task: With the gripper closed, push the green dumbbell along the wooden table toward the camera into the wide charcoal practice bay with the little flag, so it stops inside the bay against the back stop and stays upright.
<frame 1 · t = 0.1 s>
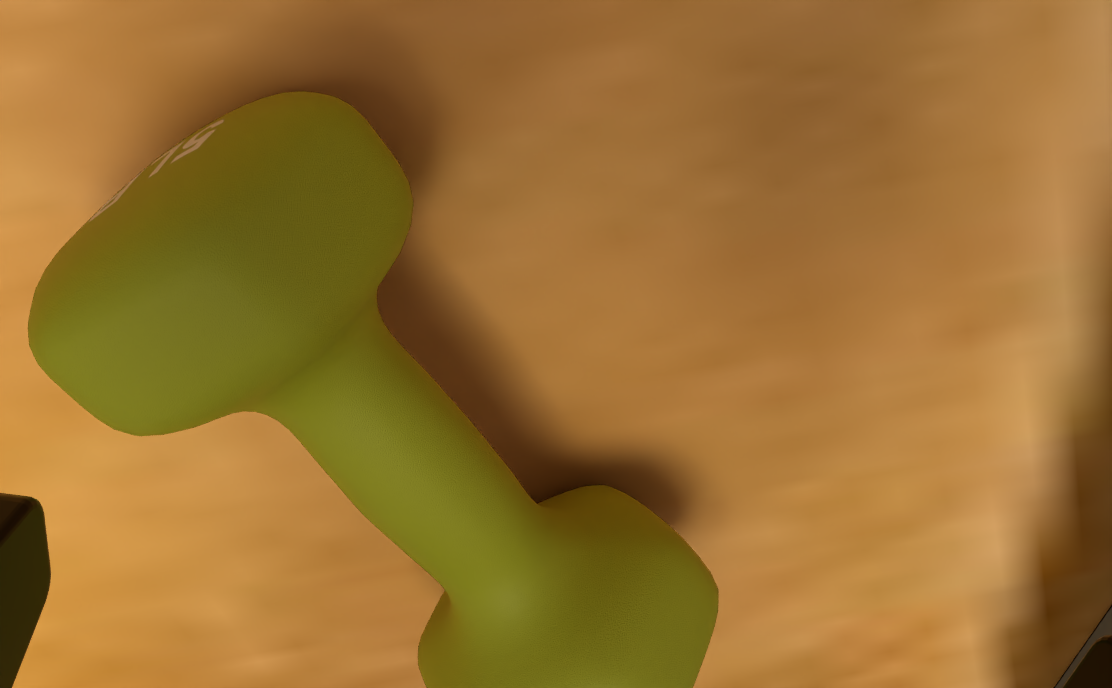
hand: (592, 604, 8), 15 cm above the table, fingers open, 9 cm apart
dumbbell: (432, 369, 25), on the table
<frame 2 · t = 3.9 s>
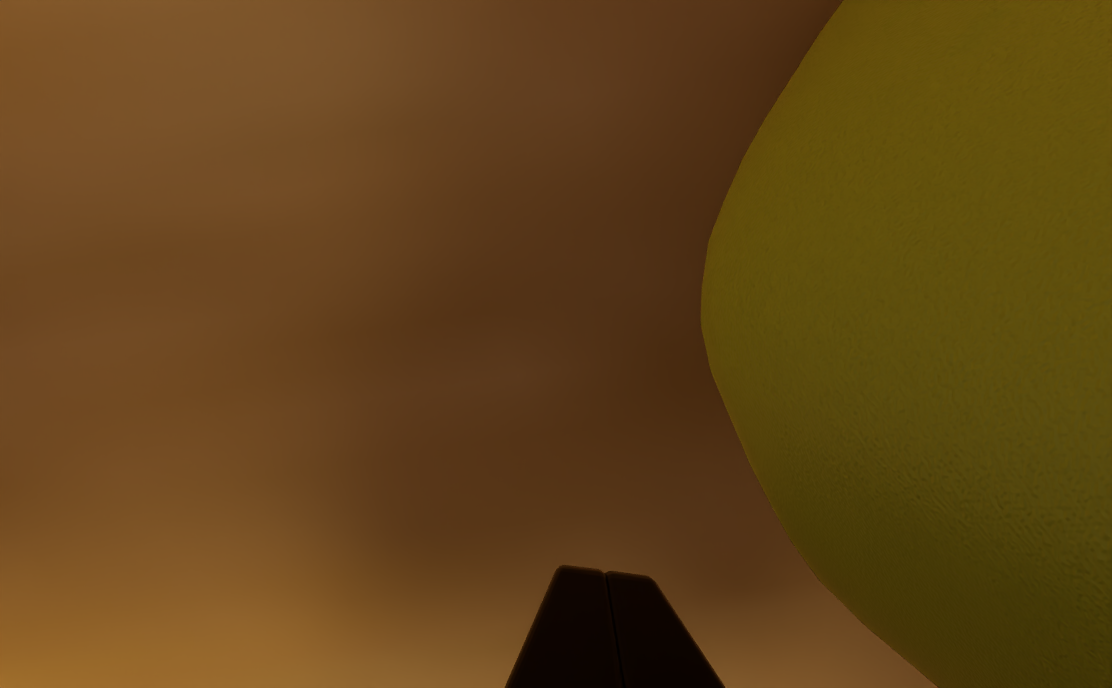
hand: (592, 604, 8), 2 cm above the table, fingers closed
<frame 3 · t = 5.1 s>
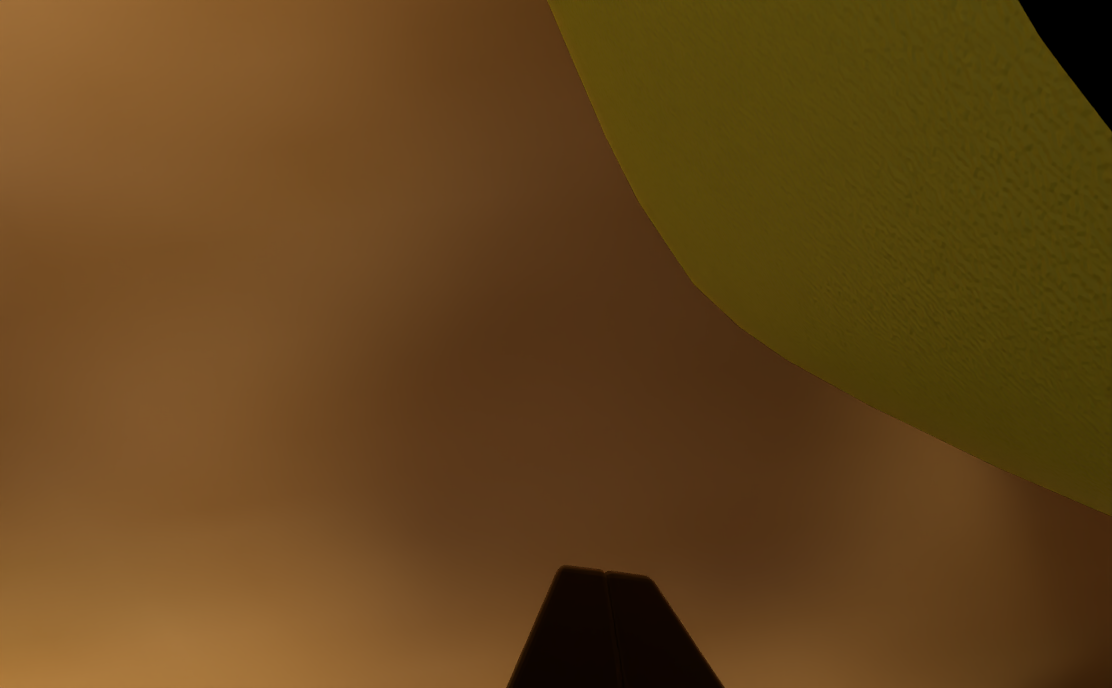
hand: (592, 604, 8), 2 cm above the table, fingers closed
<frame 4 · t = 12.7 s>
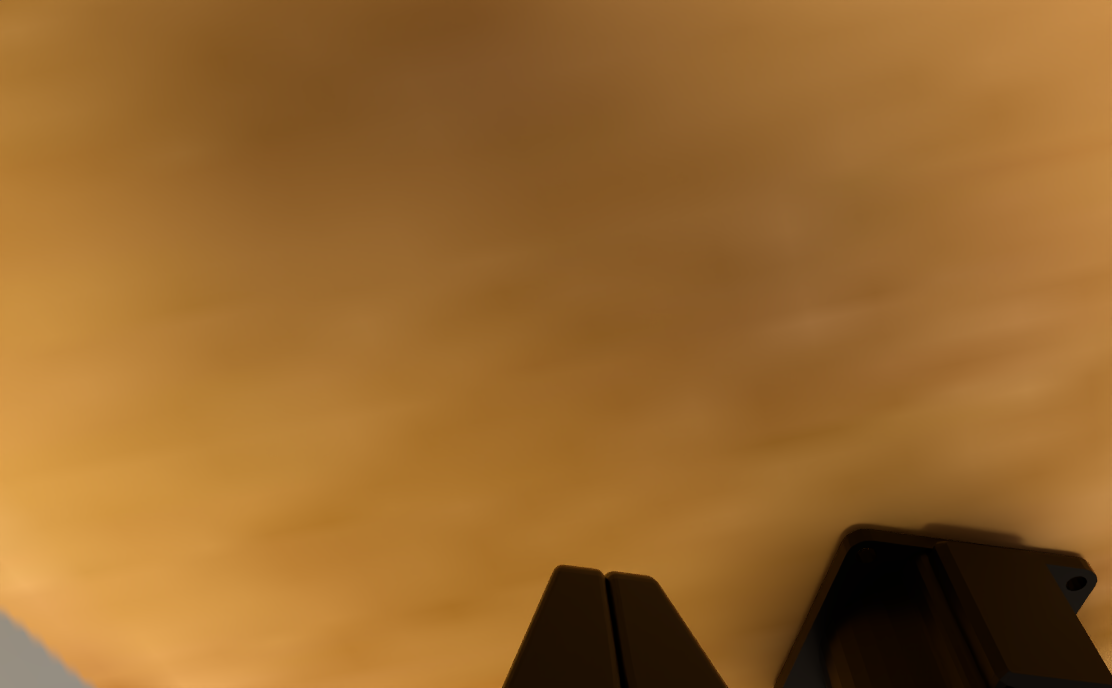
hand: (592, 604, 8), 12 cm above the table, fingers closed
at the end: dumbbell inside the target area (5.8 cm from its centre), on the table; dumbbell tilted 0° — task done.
